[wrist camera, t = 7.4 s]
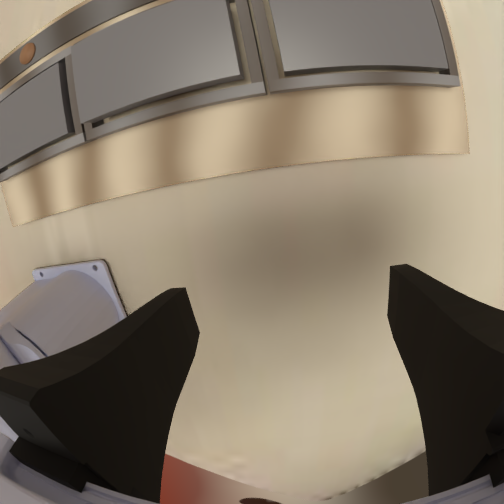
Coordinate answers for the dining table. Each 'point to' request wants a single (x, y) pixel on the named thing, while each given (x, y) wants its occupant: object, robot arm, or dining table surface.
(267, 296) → the dining table surface
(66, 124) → the key
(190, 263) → the dining table surface
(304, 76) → the switch unit
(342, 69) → the key
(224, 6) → the key middle
